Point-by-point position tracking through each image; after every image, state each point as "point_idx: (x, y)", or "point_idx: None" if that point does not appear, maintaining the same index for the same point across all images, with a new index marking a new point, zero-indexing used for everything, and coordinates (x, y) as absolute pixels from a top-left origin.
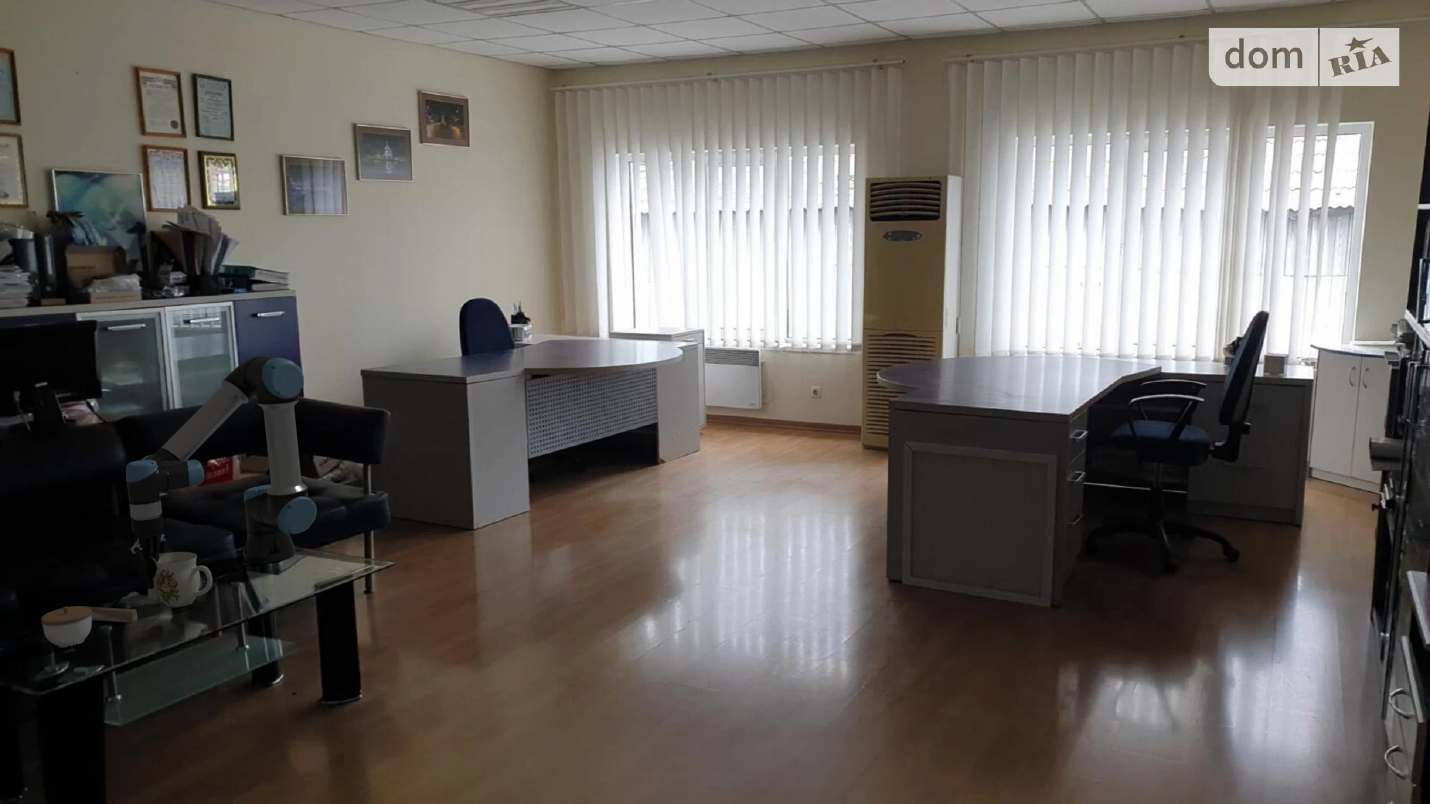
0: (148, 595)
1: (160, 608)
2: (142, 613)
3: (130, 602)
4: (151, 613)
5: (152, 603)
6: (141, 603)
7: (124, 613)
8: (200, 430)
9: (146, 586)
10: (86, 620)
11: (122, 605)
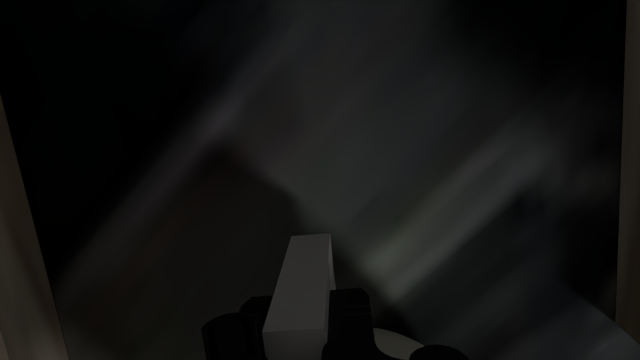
0: (288, 247)
1: None
2: (159, 304)
3: (291, 57)
4: (177, 354)
5: (316, 228)
6: (296, 154)
7: None
8: None
9: (241, 309)
10: None
11: (227, 51)
